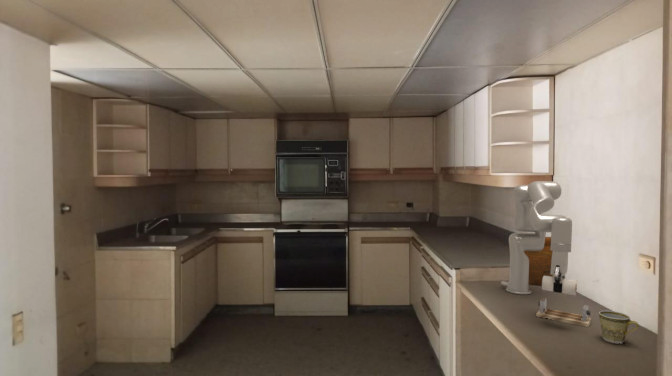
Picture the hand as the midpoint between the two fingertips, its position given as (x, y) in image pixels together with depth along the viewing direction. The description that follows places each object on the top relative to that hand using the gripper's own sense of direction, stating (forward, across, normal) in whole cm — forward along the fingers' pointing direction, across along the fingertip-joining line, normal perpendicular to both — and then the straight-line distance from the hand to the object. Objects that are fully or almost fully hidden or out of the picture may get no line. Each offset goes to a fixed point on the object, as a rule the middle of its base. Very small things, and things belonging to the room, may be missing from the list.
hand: (559, 290), depth 177 cm
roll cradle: (+15, -12, 0) cm, 19 cm away
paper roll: (+1, 0, 0) cm, 1 cm away
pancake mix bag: (+16, -67, -22) cm, 72 cm away
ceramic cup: (+15, +3, +21) cm, 26 cm away
